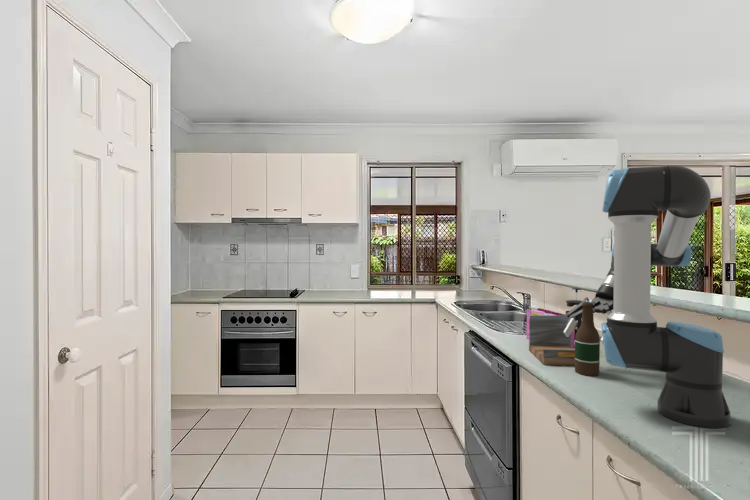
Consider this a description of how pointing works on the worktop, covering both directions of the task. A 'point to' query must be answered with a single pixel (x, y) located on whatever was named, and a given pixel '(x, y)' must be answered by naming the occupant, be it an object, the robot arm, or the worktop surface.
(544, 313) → the gum box
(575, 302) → the french press
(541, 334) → the shelf
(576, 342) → the beer bottle
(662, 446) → the worktop surface
